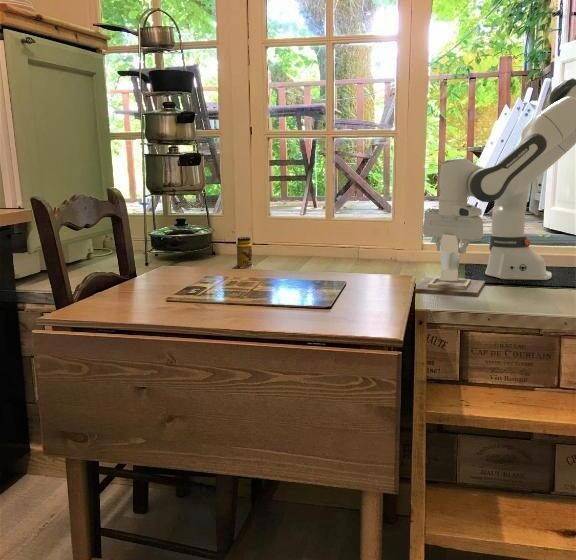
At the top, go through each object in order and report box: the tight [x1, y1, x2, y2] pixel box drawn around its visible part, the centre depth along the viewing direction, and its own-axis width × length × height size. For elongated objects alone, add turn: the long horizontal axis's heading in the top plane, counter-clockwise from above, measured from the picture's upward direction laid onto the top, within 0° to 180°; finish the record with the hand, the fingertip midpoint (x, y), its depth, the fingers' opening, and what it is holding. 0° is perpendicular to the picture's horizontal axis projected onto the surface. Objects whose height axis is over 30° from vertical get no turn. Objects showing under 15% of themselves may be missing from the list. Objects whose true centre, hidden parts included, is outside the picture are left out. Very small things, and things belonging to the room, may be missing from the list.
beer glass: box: [438, 234, 463, 282], centre depth 202 cm, size 7×7×15 cm
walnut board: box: [415, 276, 486, 297], centre depth 204 cm, size 20×20×2 cm
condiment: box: [232, 236, 255, 269], centre depth 251 cm, size 7×8×12 cm
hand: (451, 252), depth 202 cm, fingers closed on beer glass, 7 cm apart
